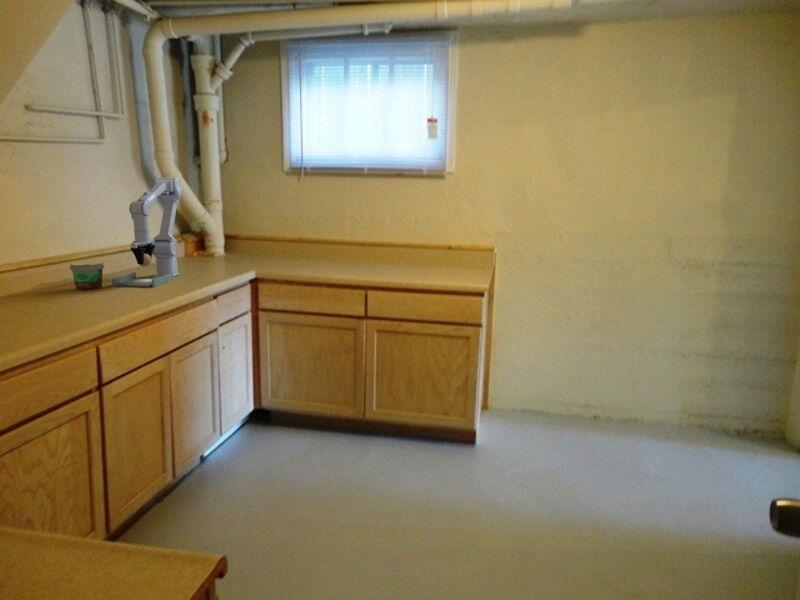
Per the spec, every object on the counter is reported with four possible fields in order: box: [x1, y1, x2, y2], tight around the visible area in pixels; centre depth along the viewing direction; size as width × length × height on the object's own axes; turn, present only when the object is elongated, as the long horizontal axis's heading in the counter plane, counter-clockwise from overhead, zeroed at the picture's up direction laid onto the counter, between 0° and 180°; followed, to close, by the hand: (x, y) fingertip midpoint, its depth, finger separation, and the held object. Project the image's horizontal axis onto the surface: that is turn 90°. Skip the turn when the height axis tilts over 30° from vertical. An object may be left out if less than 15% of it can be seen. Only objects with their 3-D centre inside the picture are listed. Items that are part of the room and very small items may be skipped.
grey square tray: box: [111, 271, 174, 288], centre depth 243 cm, size 16×18×3 cm
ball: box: [138, 253, 152, 267], centre depth 241 cm, size 6×6×6 cm
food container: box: [69, 262, 105, 291], centre depth 228 cm, size 12×6×10 cm, turn 105°
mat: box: [115, 276, 158, 289], centre depth 243 cm, size 18×14×1 cm
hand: (144, 263), depth 241 cm, fingers closed on ball, 5 cm apart
